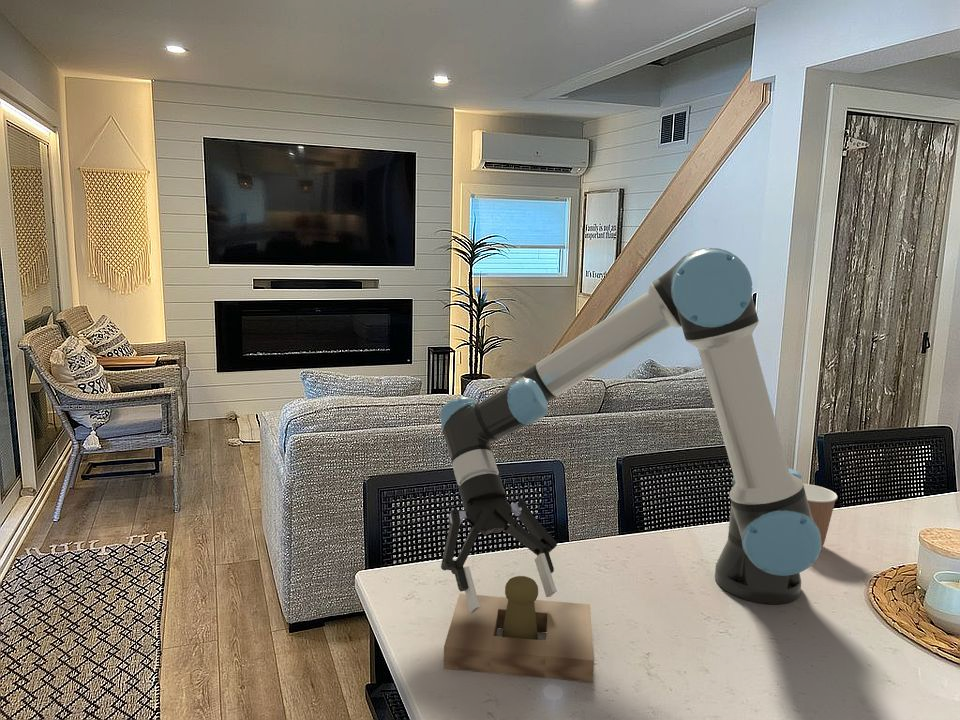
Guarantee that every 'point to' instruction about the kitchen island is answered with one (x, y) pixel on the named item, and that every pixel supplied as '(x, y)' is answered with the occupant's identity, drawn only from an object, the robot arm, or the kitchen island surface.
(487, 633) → the wooden block with hole
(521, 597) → the cork
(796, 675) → the kitchen island surface
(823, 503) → the coffee cup
